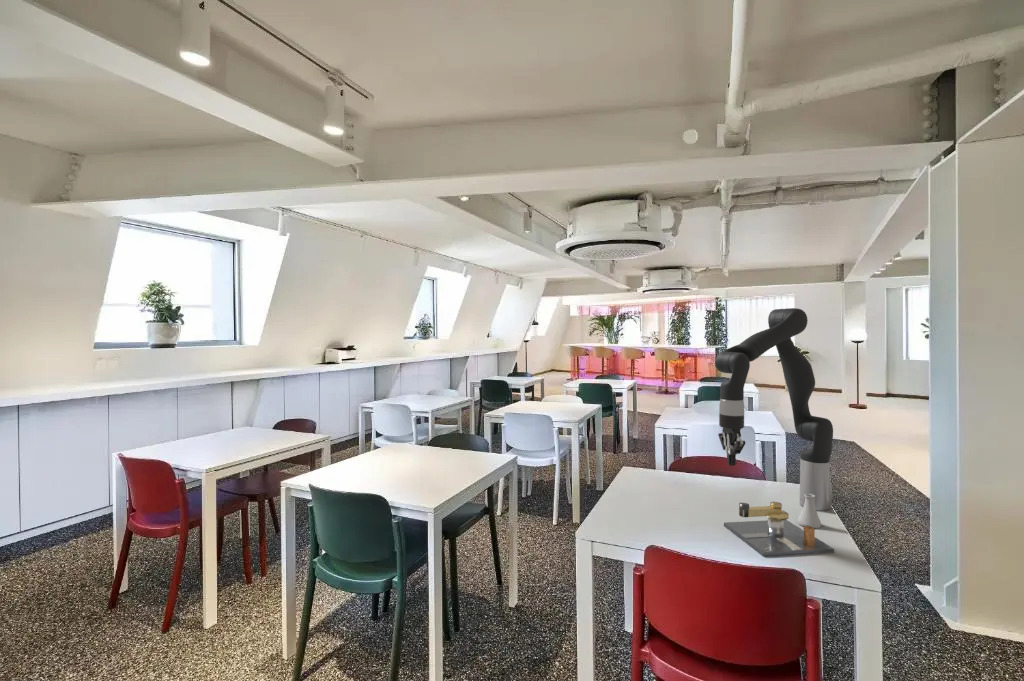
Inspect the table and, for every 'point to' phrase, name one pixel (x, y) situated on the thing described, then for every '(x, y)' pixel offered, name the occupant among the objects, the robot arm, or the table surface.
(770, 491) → the table surface
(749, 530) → the lock base
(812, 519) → the flask
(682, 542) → the table surface
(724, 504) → the table surface
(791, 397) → the robot arm
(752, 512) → the brass lever handle
